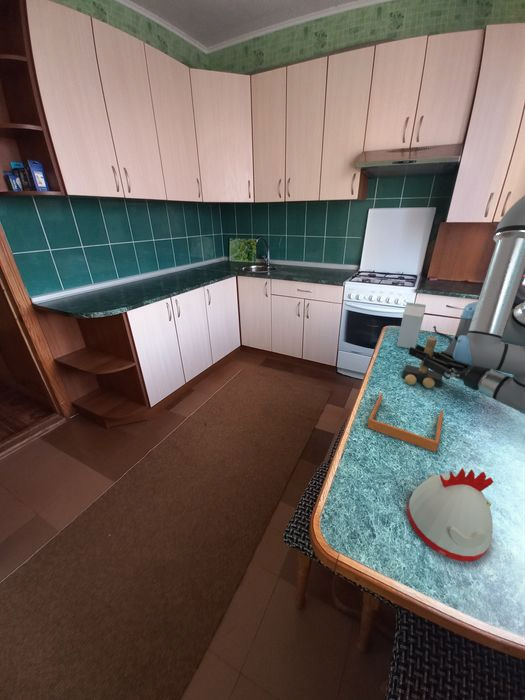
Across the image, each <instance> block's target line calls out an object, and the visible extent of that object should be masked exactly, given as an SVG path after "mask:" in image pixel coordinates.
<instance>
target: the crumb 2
mask: <svg viewBox="0 0 525 700" xmlns="http://www.w3.org/2000/svg"><path fill="white" fill-rule="evenodd" d="M422 385H423V387H424V388H426V389H432V388H434V387H435V386H434V385H435V381H434V380H433V379H432V378H425V379H424V380H423V383H422Z"/></svg>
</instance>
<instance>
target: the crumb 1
mask: <svg viewBox="0 0 525 700" xmlns="http://www.w3.org/2000/svg"><path fill="white" fill-rule="evenodd" d="M404 382H405V383H406V384H407V385H409V386H413V385H415V384H416V383H417V381H416V377H415V376H414V375H407V376H406V377H405V378H404Z"/></svg>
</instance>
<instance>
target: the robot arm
mask: <svg viewBox="0 0 525 700" xmlns="http://www.w3.org/2000/svg"><path fill="white" fill-rule="evenodd" d="M492 239H493V241H494V242H495V246H494V250H493V253H492V255H491V259H490V262H489V265H488V268H487V271H486V275H485V278H484V281H483V284H482V287H481V289H480V294H479V297H478V300H477V301H475V302H470V303H467V304H466V305H465V306H464V308H463V311H462V313H461V315H460V319H459V323H458V326H457V329H456V331H455V336H454V338H452V337H451V336H450V335H447V334H444V333H442V332H439V331H437V326H436V325H434V326H433V327H432V328H433V331H434V332H435V334H437V335H440V336H443V337H446V338H447V339H449V345H448V346H447V347H446V349H445V350H444V351H443V350H441V351H434V352H433V356H432V357H430V356H429V354H427V353H424V349H425V346H423V345H420V344H416V347H415V348H413V347H410V349H408V355H409V356H411V357H413V358H415V359H418V360H420V361H424V362H423V366H425V367H427V368H429V370H431V371H435V372H437V373H438V374H440V375H442V376H443V377H442V378H444V379H445V380H450V379H451V378H455V379H456V380H457V379H458V380H461V381H462V382H463V385H464V386H465V387H467V388H469V389H471V390H473V391H476V392H477V391H478V393H480V394H482V395H485V396H487V397H488V398H490V399H493V400H495V401H497V402H499V403H501V404H503V405H505V406H508V407H509V408H512V409H513V410H516V411H518V412H519V413H520V414H524V415H525V300H524V302H522V303H520V304H518V305H516V306H515V307H514V308H513V305H514V302H515V299H516V297H517V293H518V291H519V287H520V284H521V281H522V278H523V275H524V272H525V195H523V196H522V197H521V198H519V199H518V200H517V201H516V202H514V203H513V205H512V206H511V207H510V208H509V209H508V210H507V211H506V212H505V214H504V215H503V216H502V217H501V219H500V221H499V223H498V224H497V226H496V228H495V232H494V235H493V238H492ZM512 308H513V309H512ZM508 374H509V375H508ZM510 375H512V376H510Z"/></svg>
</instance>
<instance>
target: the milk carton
mask: <svg viewBox="0 0 525 700" xmlns="http://www.w3.org/2000/svg"><path fill="white" fill-rule="evenodd" d="M426 306H427V305H426V304H422V303H415V302H408V301H406V304H405V307H404V311H403V314H402V319H401V323H400V327H399V331H398V337H397V342H396V347H400V348H405V349H408V350H410V347H413V348H415V349H416V345H418V340H419V336H420V332H421V329H422V324H423V320H424V316H425V313H426Z"/></svg>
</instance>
